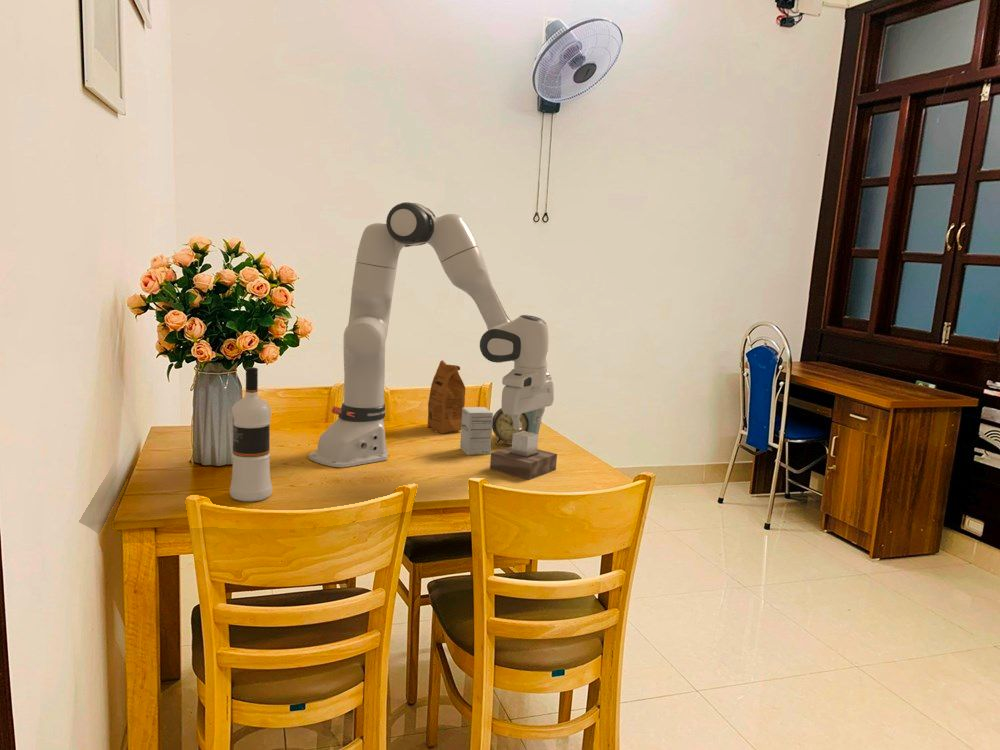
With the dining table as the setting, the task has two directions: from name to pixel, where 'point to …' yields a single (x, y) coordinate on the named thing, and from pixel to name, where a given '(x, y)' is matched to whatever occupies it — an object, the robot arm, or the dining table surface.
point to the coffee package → (446, 399)
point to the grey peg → (524, 444)
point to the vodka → (251, 444)
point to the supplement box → (476, 430)
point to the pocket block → (523, 463)
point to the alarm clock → (507, 426)
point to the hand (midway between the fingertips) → (527, 426)
